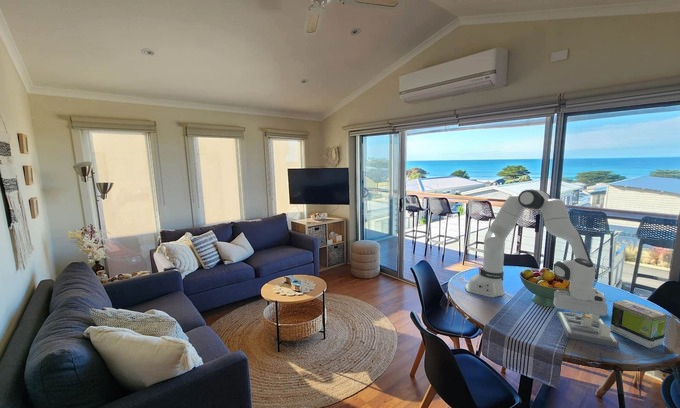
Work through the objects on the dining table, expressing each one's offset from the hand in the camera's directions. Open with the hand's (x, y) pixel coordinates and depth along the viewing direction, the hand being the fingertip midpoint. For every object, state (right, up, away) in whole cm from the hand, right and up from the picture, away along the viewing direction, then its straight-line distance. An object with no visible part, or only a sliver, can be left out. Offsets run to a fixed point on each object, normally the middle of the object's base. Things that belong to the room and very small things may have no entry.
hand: (577, 319), depth 143 cm
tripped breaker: (+3, -3, -1) cm, 4 cm away
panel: (+3, -5, -1) cm, 6 cm away
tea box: (+21, -6, -7) cm, 23 cm away
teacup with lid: (+24, -1, +20) cm, 31 cm away
